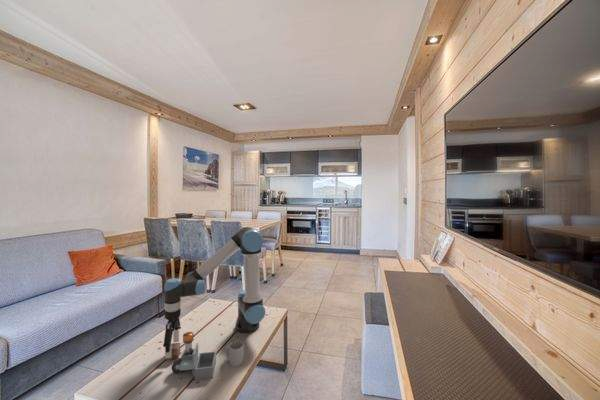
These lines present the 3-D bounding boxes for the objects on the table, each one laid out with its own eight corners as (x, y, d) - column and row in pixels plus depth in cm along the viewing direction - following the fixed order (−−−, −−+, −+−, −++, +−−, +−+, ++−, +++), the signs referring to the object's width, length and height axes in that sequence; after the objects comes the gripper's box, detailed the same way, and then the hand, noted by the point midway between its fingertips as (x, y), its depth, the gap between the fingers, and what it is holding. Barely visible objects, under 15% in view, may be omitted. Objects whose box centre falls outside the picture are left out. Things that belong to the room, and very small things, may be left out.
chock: (180, 353, 138) (180, 342, 138) (177, 359, 133) (177, 348, 133) (169, 354, 137) (169, 343, 137) (166, 360, 132) (166, 349, 132)
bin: (216, 360, 133) (216, 351, 132) (212, 377, 121) (212, 367, 121) (199, 362, 131) (199, 353, 131) (194, 379, 119) (194, 369, 119)
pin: (194, 352, 129) (194, 331, 129) (192, 359, 125) (192, 336, 124) (184, 353, 129) (184, 332, 128) (182, 360, 124) (181, 337, 123)
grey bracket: (198, 363, 131) (198, 343, 130) (194, 376, 122) (194, 354, 121) (175, 365, 129) (174, 345, 128) (169, 379, 120) (169, 356, 119)
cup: (239, 368, 127) (239, 350, 127) (221, 364, 130) (221, 346, 130) (246, 358, 134) (246, 342, 134) (229, 355, 137) (229, 338, 137)
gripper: (172, 299, 146) (172, 336, 147) (155, 321, 121) (155, 365, 122) (186, 298, 147) (186, 335, 148) (173, 320, 123) (172, 364, 123)
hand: (172, 349), depth 135 cm, fingers open, 13 cm apart
